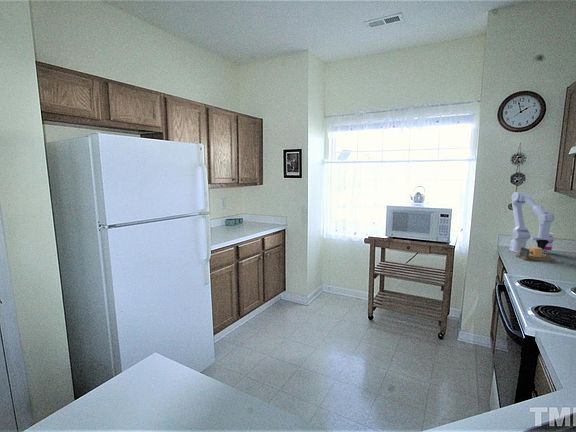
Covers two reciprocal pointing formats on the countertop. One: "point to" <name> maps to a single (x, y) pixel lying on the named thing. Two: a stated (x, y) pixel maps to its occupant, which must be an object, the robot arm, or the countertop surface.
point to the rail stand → (525, 255)
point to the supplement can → (549, 245)
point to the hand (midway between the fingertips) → (540, 250)
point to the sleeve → (535, 251)
